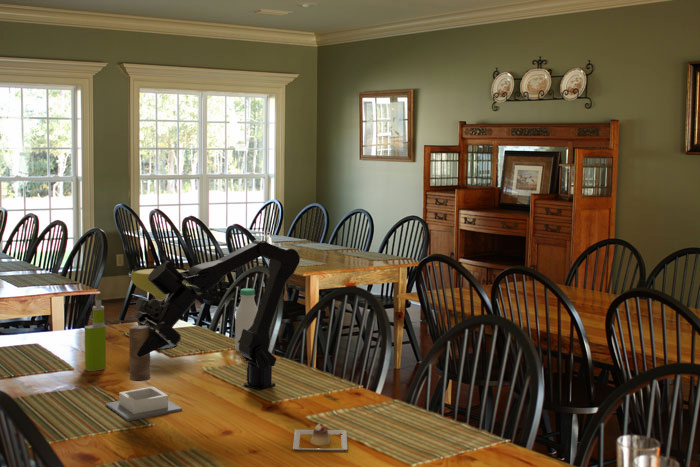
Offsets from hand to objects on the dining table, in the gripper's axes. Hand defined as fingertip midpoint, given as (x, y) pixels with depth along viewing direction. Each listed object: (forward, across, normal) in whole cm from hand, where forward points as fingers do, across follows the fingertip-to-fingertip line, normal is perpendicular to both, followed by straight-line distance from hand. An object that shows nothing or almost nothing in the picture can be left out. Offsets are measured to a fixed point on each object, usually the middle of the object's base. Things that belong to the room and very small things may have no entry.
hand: (134, 353), depth 200 cm
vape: (+9, -38, +11) cm, 41 cm away
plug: (+4, 0, +6) cm, 7 cm away
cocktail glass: (-10, -56, +29) cm, 63 cm away
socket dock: (+9, +3, +10) cm, 14 cm away
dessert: (-9, +44, +30) cm, 54 cm away
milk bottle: (-25, -36, +45) cm, 63 cm away
